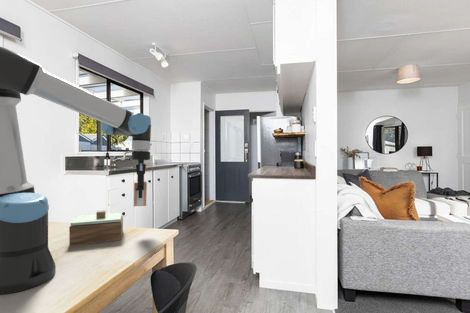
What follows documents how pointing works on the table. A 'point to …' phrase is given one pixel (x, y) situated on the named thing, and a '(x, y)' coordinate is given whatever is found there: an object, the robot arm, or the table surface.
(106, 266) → the table surface
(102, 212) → the lid
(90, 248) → the table surface
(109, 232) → the wooden box
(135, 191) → the key block
